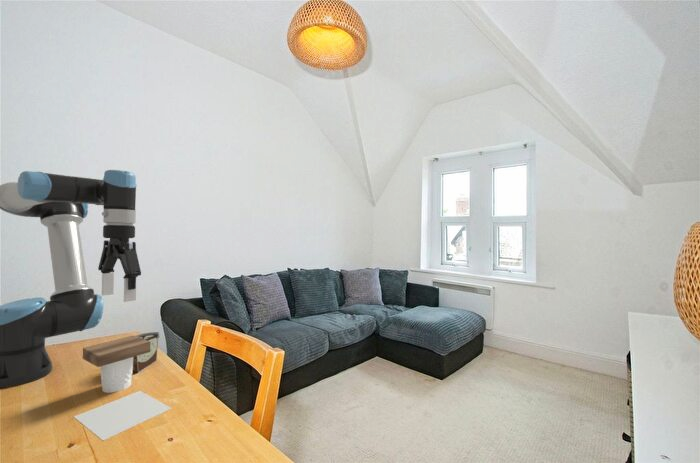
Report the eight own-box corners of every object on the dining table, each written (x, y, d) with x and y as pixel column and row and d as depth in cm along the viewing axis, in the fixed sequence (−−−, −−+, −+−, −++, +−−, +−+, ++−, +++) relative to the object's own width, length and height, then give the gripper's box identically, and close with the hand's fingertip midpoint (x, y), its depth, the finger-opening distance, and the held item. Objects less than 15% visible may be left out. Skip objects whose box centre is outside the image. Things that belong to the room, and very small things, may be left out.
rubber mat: (73, 419, 78) (73, 416, 78) (140, 393, 90) (140, 390, 90) (102, 444, 69) (103, 440, 69) (171, 411, 82) (171, 408, 82)
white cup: (115, 398, 88) (116, 362, 88) (92, 394, 89) (92, 359, 89) (139, 384, 95) (140, 351, 95) (118, 381, 97) (118, 348, 97)
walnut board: (82, 358, 89) (82, 348, 89) (133, 344, 101) (133, 335, 101) (98, 367, 84) (98, 356, 84) (150, 351, 95) (150, 341, 95)
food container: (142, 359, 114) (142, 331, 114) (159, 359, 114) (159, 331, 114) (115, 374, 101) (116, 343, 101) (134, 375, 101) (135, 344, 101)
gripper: (85, 223, 95) (84, 294, 96) (125, 224, 82) (124, 306, 83) (114, 224, 102) (113, 290, 102) (156, 225, 89) (154, 301, 89)
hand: (118, 297), depth 92 cm, fingers open, 13 cm apart
